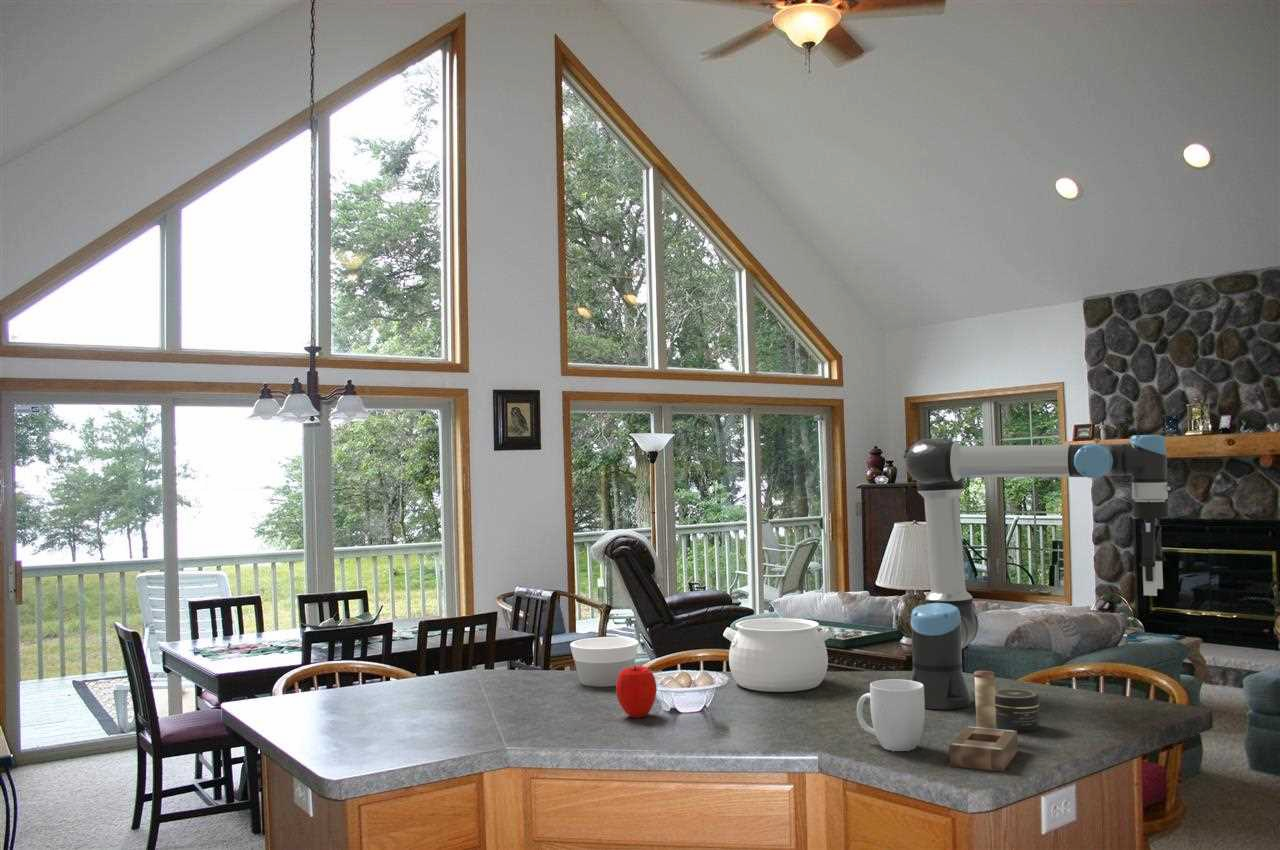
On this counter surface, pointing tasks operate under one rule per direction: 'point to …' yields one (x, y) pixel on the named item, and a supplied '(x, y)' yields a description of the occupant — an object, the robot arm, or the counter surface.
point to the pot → (778, 654)
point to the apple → (636, 690)
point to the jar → (1017, 710)
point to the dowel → (985, 699)
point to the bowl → (603, 659)
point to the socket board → (983, 748)
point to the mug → (895, 713)
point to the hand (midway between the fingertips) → (1153, 592)
